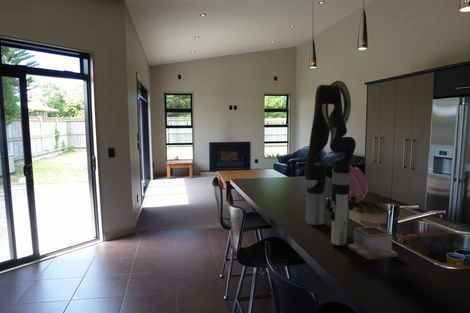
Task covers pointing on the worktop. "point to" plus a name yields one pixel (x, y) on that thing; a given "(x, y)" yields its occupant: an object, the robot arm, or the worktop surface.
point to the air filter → (340, 220)
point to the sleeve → (372, 240)
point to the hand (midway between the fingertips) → (339, 219)
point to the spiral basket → (354, 185)
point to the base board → (372, 256)
